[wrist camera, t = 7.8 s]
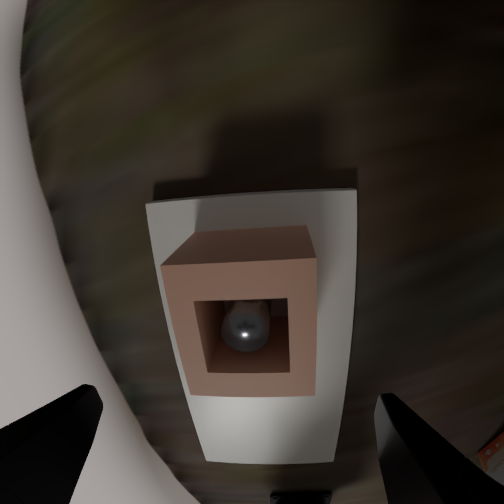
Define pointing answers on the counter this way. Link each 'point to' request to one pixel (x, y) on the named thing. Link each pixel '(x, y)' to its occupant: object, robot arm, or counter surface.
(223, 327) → the steel pin
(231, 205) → the base plate
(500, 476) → the cracker box
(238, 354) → the pink hollow square block
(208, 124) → the counter surface
